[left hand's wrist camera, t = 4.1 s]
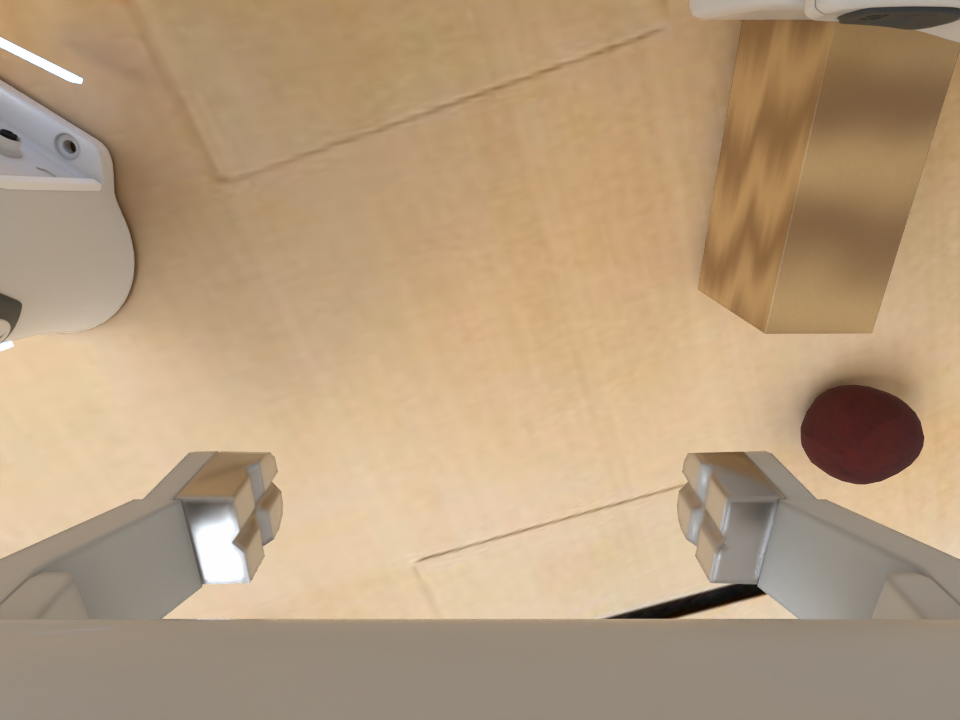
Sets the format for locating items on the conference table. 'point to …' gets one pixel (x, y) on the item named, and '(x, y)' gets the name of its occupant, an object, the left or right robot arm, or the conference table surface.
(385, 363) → the conference table surface
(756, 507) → the left robot arm
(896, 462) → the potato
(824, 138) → the box
